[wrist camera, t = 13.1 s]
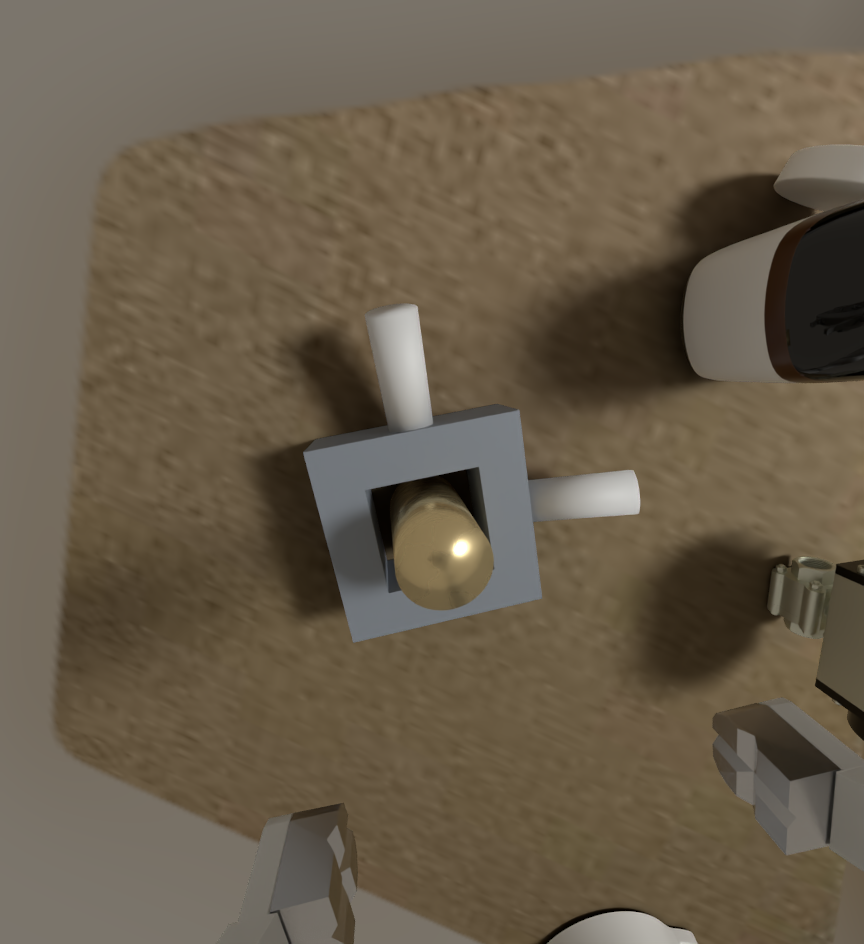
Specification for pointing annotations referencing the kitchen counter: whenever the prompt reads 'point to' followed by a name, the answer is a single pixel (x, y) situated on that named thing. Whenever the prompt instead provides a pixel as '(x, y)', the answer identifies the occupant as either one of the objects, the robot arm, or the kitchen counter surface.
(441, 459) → the coupling block
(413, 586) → the cylinder
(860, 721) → the pneumatic valve
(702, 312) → the spread jar
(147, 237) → the kitchen counter surface
